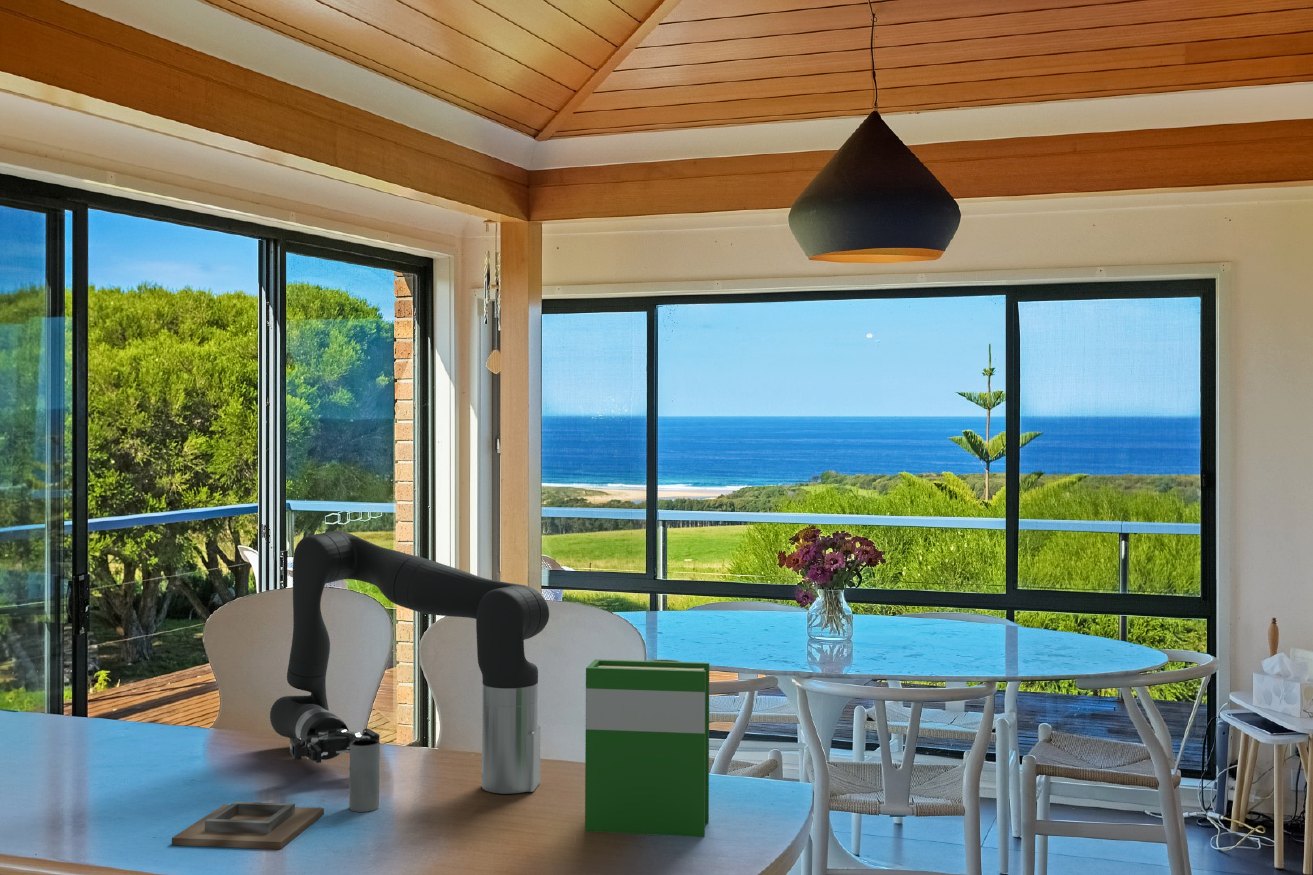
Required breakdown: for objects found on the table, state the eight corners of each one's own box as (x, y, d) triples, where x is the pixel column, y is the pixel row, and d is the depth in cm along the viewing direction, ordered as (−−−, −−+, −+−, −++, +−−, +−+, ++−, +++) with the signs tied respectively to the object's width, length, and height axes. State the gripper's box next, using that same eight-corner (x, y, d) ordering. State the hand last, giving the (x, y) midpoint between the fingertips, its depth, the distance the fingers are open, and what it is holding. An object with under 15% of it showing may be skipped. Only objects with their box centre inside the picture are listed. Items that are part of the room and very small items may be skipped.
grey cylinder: (371, 813, 183) (372, 746, 183) (344, 811, 184) (344, 744, 184) (384, 804, 187) (384, 739, 187) (357, 802, 188) (357, 737, 188)
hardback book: (708, 821, 180) (709, 662, 180) (704, 836, 172) (705, 671, 173) (594, 815, 182) (594, 659, 182) (584, 831, 174) (585, 667, 175)
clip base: (323, 814, 182) (323, 798, 182) (280, 848, 166) (281, 831, 166) (223, 810, 183) (223, 794, 183) (171, 844, 167) (171, 827, 167)
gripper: (280, 715, 206) (301, 735, 191) (361, 707, 213) (388, 725, 198) (279, 759, 205) (301, 781, 191) (361, 749, 212) (387, 770, 198)
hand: (345, 753), depth 195 cm, fingers open, 8 cm apart
